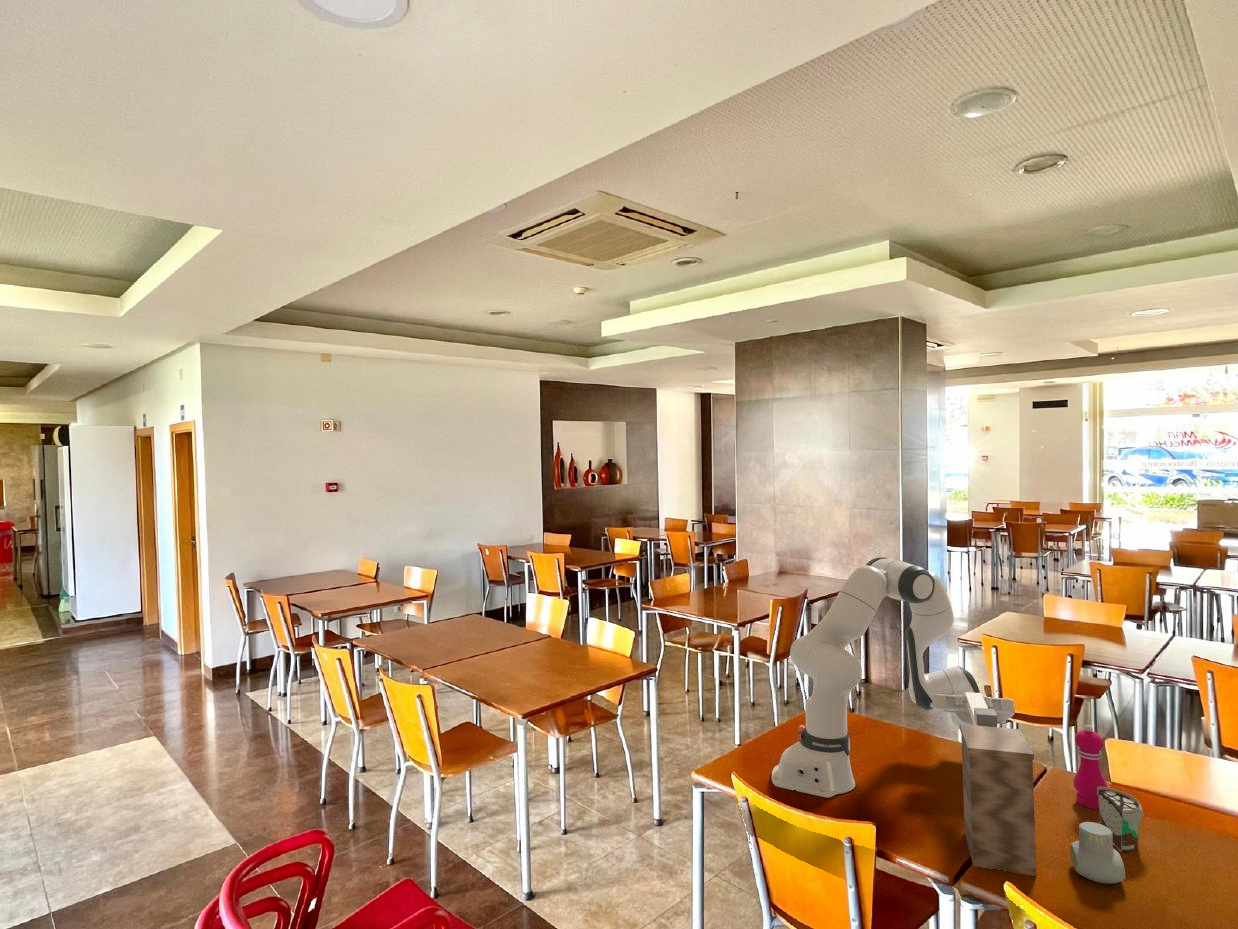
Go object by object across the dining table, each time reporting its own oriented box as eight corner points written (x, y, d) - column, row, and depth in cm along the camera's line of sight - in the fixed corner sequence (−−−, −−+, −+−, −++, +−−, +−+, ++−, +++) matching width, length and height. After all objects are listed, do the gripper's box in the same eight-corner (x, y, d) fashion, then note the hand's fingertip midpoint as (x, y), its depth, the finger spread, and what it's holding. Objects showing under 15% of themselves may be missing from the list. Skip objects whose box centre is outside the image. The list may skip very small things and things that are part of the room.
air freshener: (1068, 857, 151) (1066, 812, 151) (1113, 865, 148) (1111, 819, 148) (1080, 886, 141) (1078, 838, 141) (1128, 895, 138) (1126, 845, 138)
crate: (972, 866, 149) (967, 747, 149) (963, 833, 162) (959, 724, 162) (1038, 876, 145) (1034, 754, 145) (1023, 841, 158) (1019, 729, 158)
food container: (1156, 859, 149) (1155, 813, 149) (1125, 856, 151) (1123, 811, 151) (1126, 829, 161) (1125, 787, 161) (1097, 827, 163) (1096, 785, 163)
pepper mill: (1105, 799, 175) (1102, 722, 175) (1111, 813, 169) (1108, 732, 169) (1071, 794, 178) (1069, 718, 178) (1077, 807, 172) (1074, 728, 172)
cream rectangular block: (977, 736, 165) (976, 714, 165) (964, 701, 186) (963, 681, 185) (997, 738, 164) (997, 715, 163) (982, 702, 184) (981, 682, 184)
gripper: (928, 695, 198) (931, 685, 187) (1008, 700, 191) (1016, 689, 180) (930, 718, 195) (933, 709, 184) (1011, 723, 188) (1019, 714, 177)
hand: (975, 699), depth 182 cm, fingers closed on cream rectangular block, 4 cm apart
